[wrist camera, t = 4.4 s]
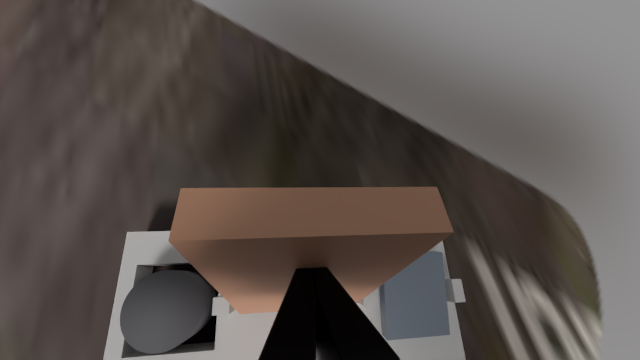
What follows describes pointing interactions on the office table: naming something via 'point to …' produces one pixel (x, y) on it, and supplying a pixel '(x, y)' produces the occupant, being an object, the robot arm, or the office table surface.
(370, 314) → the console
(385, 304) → the rocker switch
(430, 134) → the office table surface
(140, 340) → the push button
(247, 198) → the paddle lever
